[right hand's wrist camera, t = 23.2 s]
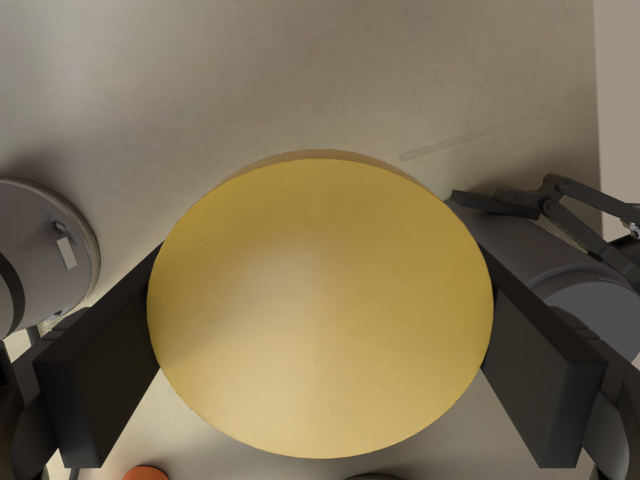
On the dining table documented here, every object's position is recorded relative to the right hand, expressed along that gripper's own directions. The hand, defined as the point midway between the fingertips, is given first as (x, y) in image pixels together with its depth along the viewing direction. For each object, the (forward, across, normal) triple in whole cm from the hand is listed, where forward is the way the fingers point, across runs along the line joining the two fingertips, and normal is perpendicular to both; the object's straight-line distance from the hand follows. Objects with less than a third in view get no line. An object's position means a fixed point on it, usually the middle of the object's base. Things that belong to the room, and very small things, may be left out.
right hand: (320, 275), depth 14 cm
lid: (-3, 0, 0) cm, 3 cm away
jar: (+25, +15, -7) cm, 30 cm away
